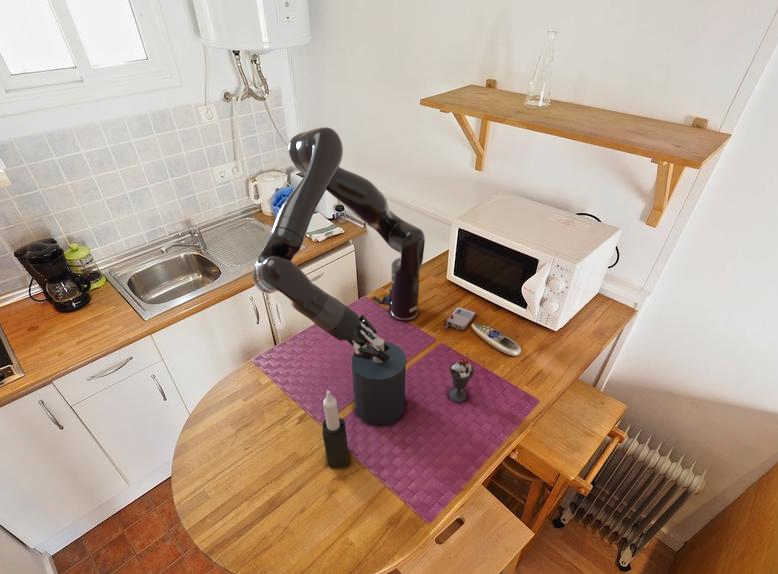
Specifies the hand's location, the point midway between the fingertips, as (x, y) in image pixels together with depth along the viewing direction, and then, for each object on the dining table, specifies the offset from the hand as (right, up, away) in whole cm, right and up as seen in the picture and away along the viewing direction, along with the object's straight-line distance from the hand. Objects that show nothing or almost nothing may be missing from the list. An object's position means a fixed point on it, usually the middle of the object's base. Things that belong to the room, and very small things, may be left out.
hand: (386, 354), depth 106 cm
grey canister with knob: (-2, -15, +13) cm, 20 cm away
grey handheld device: (+25, +10, +41) cm, 49 cm away
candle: (-12, -26, 0) cm, 29 cm away
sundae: (+20, -12, +16) cm, 28 cm away
